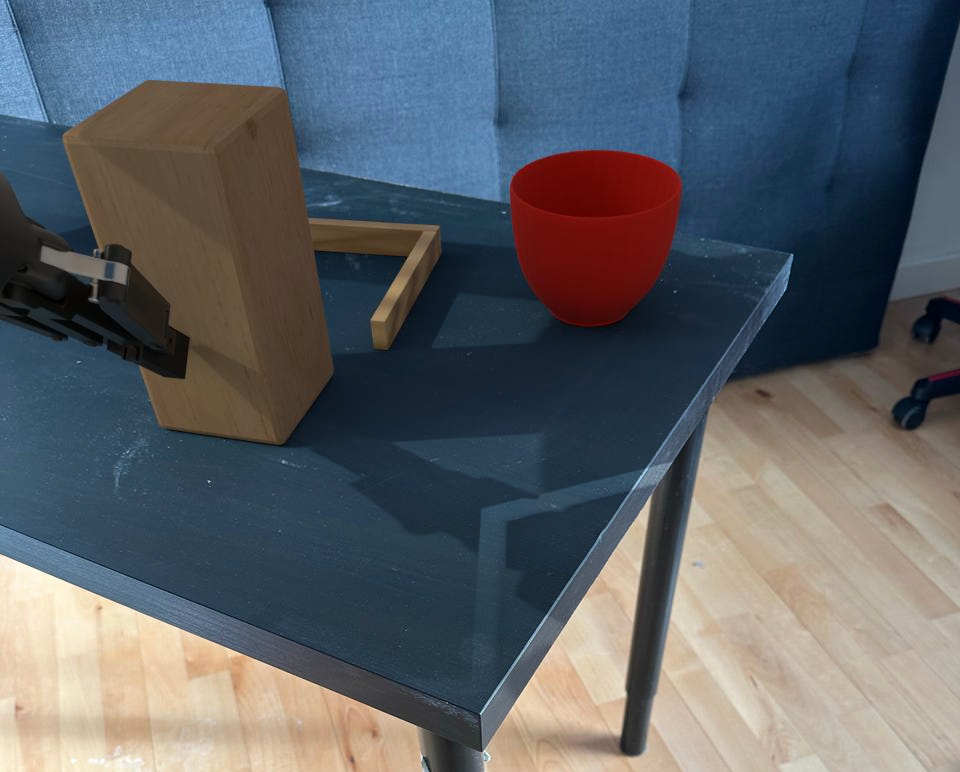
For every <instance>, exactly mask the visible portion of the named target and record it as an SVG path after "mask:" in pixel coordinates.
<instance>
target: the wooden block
mask: <svg viewBox="0 0 960 772" xmlns="http://www.w3.org/2000/svg"><path fill="white" fill-rule="evenodd" d="M62 144H63V147H64V150H65V153H66V157H67V159H68V161H69V164H70V168H71V171H72V173H73V176H74V180H75V182H76V185H77V188H78V191H79V194H80V197H81V200H82V203H83V206H84V209H85V212H86V214H87V218H88V220H89V223H90V226H91V229H92V232H93V235H94V238H95V240H96V244H97V247H98V249H100V250H103V251H104V249H105V245H108V244H110V245H111V244H119V245H122V246H124V247H125V248H127V249H129V250H130V251H131V252H132V258H131V263H132V264H133V265H134V266H135V267H136V269H137V270H138V271H139V272H140V273H141V274H142V275H143V276H144V277H145V278H146V279H147V280H148V281H149V282H150V283H151V284H152V285H153V287H154V288H155V289H156V290H157V291H158V292H159V293H160V294H161V295H162V296H163V297H164V298H165V299H166V300H167V301H168V302H169V303H170V305H171V307H170V316H169V325H170V326H171V327H173V328H175V329H176V330H178V331H180V332H181V333H183V334H185V335H186V336H188V337H190V341H189V350H188V359H187V368H186V376H185V379H176V378H166V377H163V376H160V375H158V374H156V373H154V372H152V371H150V370H148V369H146V368H144V367H142V366H140V365H138V367H139V370H140V373H141V377H142V378H143V381H144V385H145V388H146V391H147V393H148V396H149V399H150V402H151V406H152V409H153V411H154V414H155V417H156V420H157V423H158V425H159V426H160V427H161V428H163V429H164V430H172V431H179V432H186V433H192V434H193V433H194V434H201V435H207V436H214V437H221V438H227V439H234V440H242V441H248V442H255V443H261V444H267V445H268V444H269V445H277V446H280V445H283V444H286V442H287V441H288V439H289V438H290V436H291V435H292V433H293V432H294V431H295V429H296V428H297V427H298V425H299V424H300V422H301V421H302V419H304V417H305V415H306V414H307V413H308V411H309V410H310V408H311V407H312V405H313V404H314V402H315V401H316V400H317V398H318V397H319V395H320V394H321V392H322V391H323V390H324V388H325V387H326V385H328V384H329V383H328V382H329V381H330V380H331V378H332V377H333V376H334V372H335V366H334V362H333V357H332V356H333V355H332V349H331V344H330V338H329V332H328V327H327V320H326V316H325V315H326V314H325V309H324V303H323V297H322V291H321V286H320V279H319V273H318V268H317V261H316V256H315V250H314V249H313V243H312V237H311V232H310V226H309V220H308V218H309V214H308V209H307V203H306V197H305V191H304V185H303V179H302V173H301V168H300V161H299V156H298V149H297V144H296V137H295V132H294V127H293V120H292V114H291V109H290V102H289V96H288V93H287V91H286V89H285V88H283V87H280V86H269V85H253V84H251V85H249V84H233V83H232V84H231V83H213V82H211V83H210V82H195V81H194V82H193V81H177V80H162V79H161V80H160V79H146V80H145V81H143V82H141V83H139V84H137V86H135V87H134V88H132V89H130V90H129V91H127V92H125V93H124V94H123V95H121V96H120V97H118V98H117V99H115V100H113V101H112V102H110V103H108V104H107V105H106V106H104V107H102V108H101V109H99V110H97V111H96V112H95V113H93V114H91V115H90V116H88V117H87V118H86V119H83V120H82V121H81V122H79V123H78V124H76V125H74V126H72V127H71V128H69V130H67V131H65V132H64V133H63V134H62Z"/></svg>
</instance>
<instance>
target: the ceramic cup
mask: <svg viewBox="0 0 960 772" xmlns="http://www.w3.org/2000/svg"><path fill="white" fill-rule="evenodd" d="M682 190H683V182H682V179H681V176H680V175H679V173H678V172H677V171H676V170H675V169H674V168H673V167H671V166H670V165H668V164H667V163H665V162H663V161H661V160H658V159H656V158H653V157H650V156H646V155H643V154H639V153H634V152H628V151H622V150H612V149H587V150H586V149H585V150H573V151H566V152H565V151H564V152H559V153H556V154H551V155H547V156H544V157H541V158H537V159H535V160H533V161H531V162H529V163H527V164H525V165H523V167H521V168H519V169H518V170H517V171H516V172H515V174H514V175H513V176H512V177H511V181H510V183H509V202H510V203H509V205H510V214H511V224H512V233H513V241H514V246H515V247H514V248H515V252H516V255H517V259H518V263H519V267H520V269H521V272H522V274H523V276H524V278H525V280H526V282H527V283H528V285H529V287H530V289H531V291H532V292H533V293H534V295H535V296H536V297H537V299H539V301H540V302H541V303H542V304H543V305H544V307H546V308H547V309H548V310H549V312H550V313H551V315H552V316H554V318H556V319H557V320H559V321H561V322H563V323H565V324H569V325H572V326H578V327H601V326H608V325H610V324H613V323H616V322H619V321H620V320H622V319H624V318H625V316H626V315H628V313H629V312H630V311H631V310H632V309H634V307H635V306H637V304H639V303H640V301H642V300H643V299H644V298H645V297H646V296H647V294H648V293H649V292H650V291H651V289H652V288H653V286H654V285H655V284H656V282H657V280H658V279H659V277H660V274H661V272H662V271H663V268H664V266H665V265H666V263H667V260H668V257H669V254H670V252H671V249H672V245H673V241H674V238H675V234H676V228H677V224H678V219H679V213H680V209H681V201H682V193H683V192H682Z"/></svg>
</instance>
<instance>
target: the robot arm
mask: <svg viewBox="0 0 960 772" xmlns="http://www.w3.org/2000/svg"><path fill="white" fill-rule="evenodd" d="M131 258H132V252H131V251H130V250H129V249H127V248H125V247H124V246H122V245H119V244H111V245H110V244H108V245H105V249H104V251H103V250H100V249H99V248H94V249H93V250H92V256H90V255H86V254H82V253H77V251H75V250H74V249H72V248H71V247H70V244H69V243H68V241H67V240H66V239H65V238H64V237H62V236H61V235H59V234H57V233H55V232H52V231H50V230H47V229H46V227H45V226H44V225H43V224H41V223H39V222H38V221H36V220H35V219H33V218H31V217H29V216H27V215H26V214H25V213H24V211H23V209H22V207H21V204H20V203H19V200H18V198H17V196H16V194H15V192H14V189H13V187H12V186H11V183H10V182H9V180H8V179H7V177H6V175H4V173H3V172H2V171H1V170H0V321H2V322H5V323H8V324H11V325H13V326H16V327H19V328H22V329H24V330H27V331H30V332H33V333H35V334H39V335H41V336H43V337H46V338H50V339H51V340H52V341H55V342H60V343H61V342H68V341H69V337H70V338H72V339H74V340H77V341H78V342H80V343H82V344H83V345H86V346H88V347H92V348H97V347H103V345H105V346H106V350H107V351H109V352H111V353H112V354H114V355H117V356H119V357H121V360H123V361H127V362H130V363H134V365H135V364H136V365H137V366H139V365H140V366H142V367H144V368H146V369H148V370H150V371H152V372H154V373H156V374H158V375H160V376H163V377H166V378H176V379H185V376H186V368H187V359H188V350H189V341H190V337H188V336H186V335H185V334H183V333H181V332H180V331H178V330H176V329H175V328H173V327H171V326H170V325H169V316H170V307H171V305H170V303H169V302H168V301H167V300H166V299H165V298H164V297H163V296H162V295H161V294H160V293H159V292H158V291H157V290H156V289H155V288H154V287H153V285H152V284H151V283H150V282H149V281H148V280H147V279H146V278H145V277H144V276H143V275H142V274H141V273H140V272H139V271H138V270H137V269H136V267H135V266H134V265H133V264H132V263H131Z"/></svg>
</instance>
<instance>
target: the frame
mask: <svg viewBox="0 0 960 772" xmlns="http://www.w3.org/2000/svg"><path fill="white" fill-rule="evenodd" d="M308 220H309V226H310V232H311V237H312V243H313V249H314V251H317V252H318V251H319V252H330V253H331V252H334V253H347V254H348V253H349V254H363V255H378V256H391V257H407V259H406V260H405V262H403V265H402V267H401V268H400V270H399V272H398V274H397V275H396V277H394V280H393V282H392V283H391V285H390V287H389V288H388V290H387V292H386V293H385V294H384V296H383V298H382V300H381V301H380V304H379V305H378V307H377V308H376V310H375V311H374V313H373V315H372V317H371V318H370V329H371V334H372V342H373V349H374V350H382V351H389V350H390V348H391V346H392V344H393V343H394V340H395V338H396V337H397V335H398V333H399V331H400V330H401V328H402V326H403V324H404V323H405V321H406V318H407V317H408V315H409V313H410V311H411V310H412V308H413V306H414V304H415V302H416V300H417V299H418V297H419V295H420V293H421V291H422V289H423V288H424V286H425V284H426V282H427V281H428V279H429V277H430V275H431V273H432V271H433V270H434V267H435V266H436V264H437V263H438V260H439V259H440V257H441V255H442V253H443V252H442V251H443V250H442V234H441V226H440V225H433V224H418V223H417V224H416V223H399V222H383V221H367V220H366V221H365V220H363V221H362V220H352V219H351V220H349V219H334V218H320V217H319V218H318V217H317V218H316V217H308Z"/></svg>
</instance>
